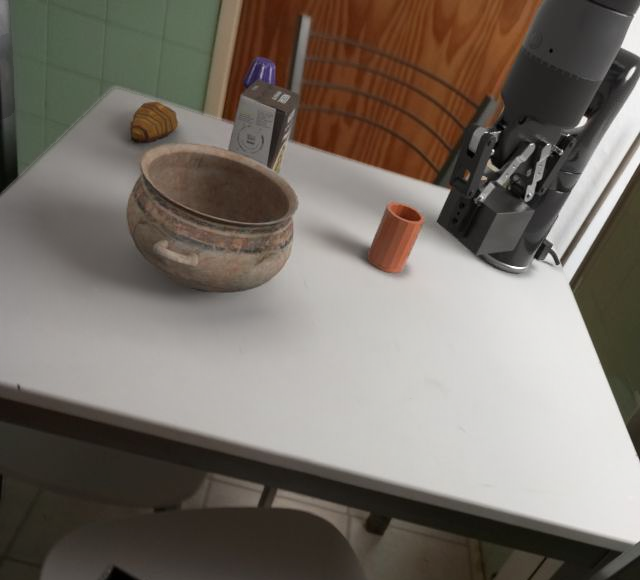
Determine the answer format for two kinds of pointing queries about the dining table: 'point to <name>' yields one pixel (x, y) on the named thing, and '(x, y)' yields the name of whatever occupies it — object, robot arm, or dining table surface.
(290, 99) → the coffee box
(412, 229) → the cup
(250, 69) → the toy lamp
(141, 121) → the croissant
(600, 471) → the dining table surface
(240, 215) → the cooking pot
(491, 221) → the block
